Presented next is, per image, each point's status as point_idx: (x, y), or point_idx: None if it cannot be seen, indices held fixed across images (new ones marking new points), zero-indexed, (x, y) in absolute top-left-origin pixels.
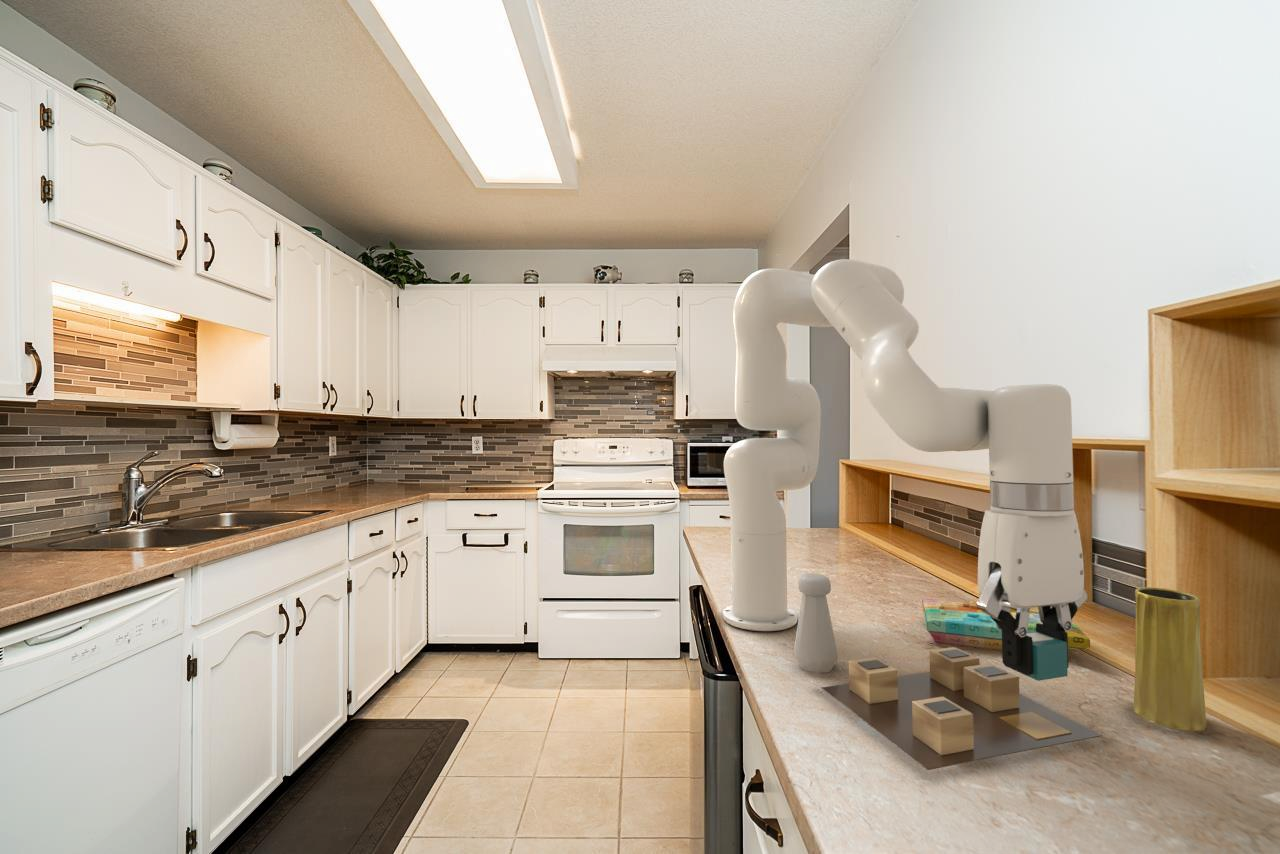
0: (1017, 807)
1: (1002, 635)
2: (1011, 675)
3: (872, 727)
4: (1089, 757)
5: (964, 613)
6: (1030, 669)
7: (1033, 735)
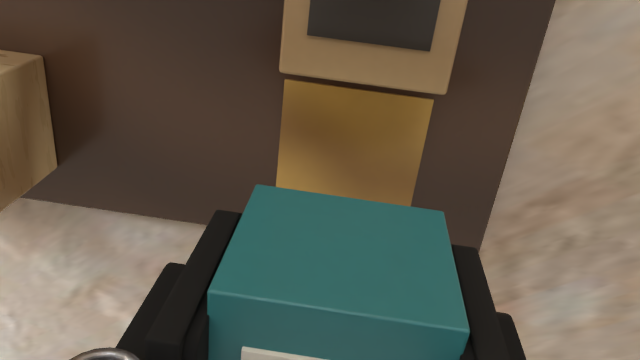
0: (24, 304)
1: (166, 305)
2: (426, 72)
3: None
4: None
5: None
6: None
7: None
